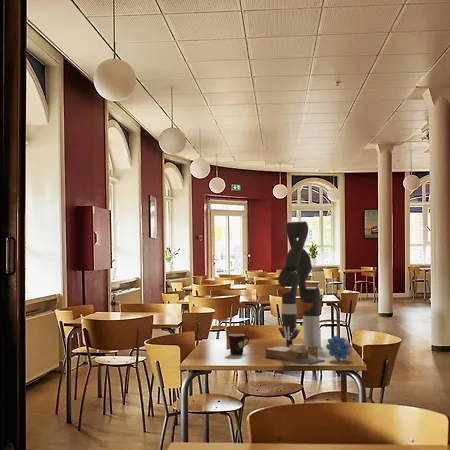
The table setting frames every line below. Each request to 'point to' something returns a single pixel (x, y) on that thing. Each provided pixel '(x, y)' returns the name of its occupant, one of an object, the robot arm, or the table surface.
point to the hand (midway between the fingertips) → (289, 347)
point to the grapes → (338, 347)
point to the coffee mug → (237, 343)
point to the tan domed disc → (298, 348)
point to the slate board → (307, 360)
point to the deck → (284, 353)
